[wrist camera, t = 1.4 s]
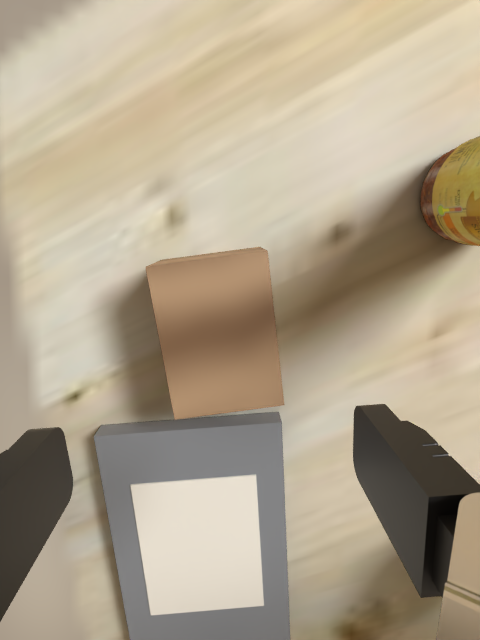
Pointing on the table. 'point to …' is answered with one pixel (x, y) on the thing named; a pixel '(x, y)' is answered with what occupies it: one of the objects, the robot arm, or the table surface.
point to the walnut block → (217, 331)
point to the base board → (198, 526)
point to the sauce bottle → (454, 194)
